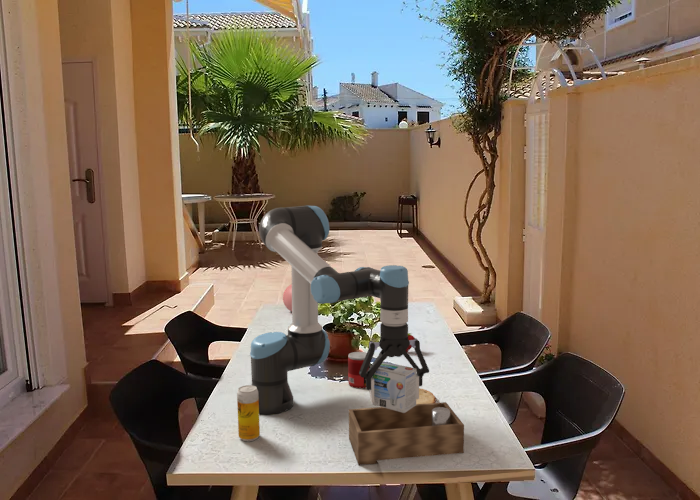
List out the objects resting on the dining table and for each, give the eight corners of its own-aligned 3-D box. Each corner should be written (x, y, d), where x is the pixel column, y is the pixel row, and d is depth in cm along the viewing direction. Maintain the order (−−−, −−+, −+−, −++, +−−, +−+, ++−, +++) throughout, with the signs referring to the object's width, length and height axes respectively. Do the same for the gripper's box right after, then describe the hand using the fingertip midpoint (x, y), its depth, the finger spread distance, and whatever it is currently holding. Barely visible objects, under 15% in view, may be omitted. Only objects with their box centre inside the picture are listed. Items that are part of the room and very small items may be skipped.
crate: (358, 465, 169) (358, 433, 168) (349, 438, 185) (348, 409, 184) (463, 456, 174) (464, 424, 173) (445, 431, 190) (445, 402, 188)
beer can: (234, 437, 186) (232, 388, 184) (251, 431, 191) (250, 383, 188) (246, 444, 182) (245, 394, 180) (264, 437, 186) (262, 388, 184)
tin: (434, 445, 178) (435, 414, 177) (429, 437, 183) (429, 407, 182) (451, 444, 179) (452, 413, 178) (446, 436, 184) (446, 406, 182)
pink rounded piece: (323, 315, 324) (322, 285, 322) (283, 316, 321) (282, 286, 319) (320, 307, 339) (320, 279, 337) (282, 309, 337) (281, 280, 334)
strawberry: (416, 354, 260) (416, 330, 259) (398, 355, 259) (398, 331, 258) (413, 350, 266) (413, 326, 264) (395, 350, 265) (395, 327, 264)
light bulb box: (371, 405, 177) (371, 367, 176) (384, 397, 183) (383, 361, 181) (405, 413, 171) (405, 375, 170) (417, 405, 177) (417, 367, 175)
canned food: (368, 389, 223) (368, 359, 221) (346, 387, 225) (346, 357, 223) (372, 381, 231) (372, 352, 229) (350, 380, 232) (350, 351, 230)
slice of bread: (426, 392, 220) (426, 382, 220) (451, 412, 204) (451, 401, 203) (378, 399, 215) (378, 389, 214) (398, 420, 198) (398, 409, 197)
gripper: (352, 329, 168) (353, 407, 171) (441, 324, 172) (440, 400, 175) (348, 321, 175) (349, 396, 179) (433, 317, 179) (432, 390, 182)
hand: (394, 399), depth 177 cm, fingers closed on light bulb box, 12 cm apart
